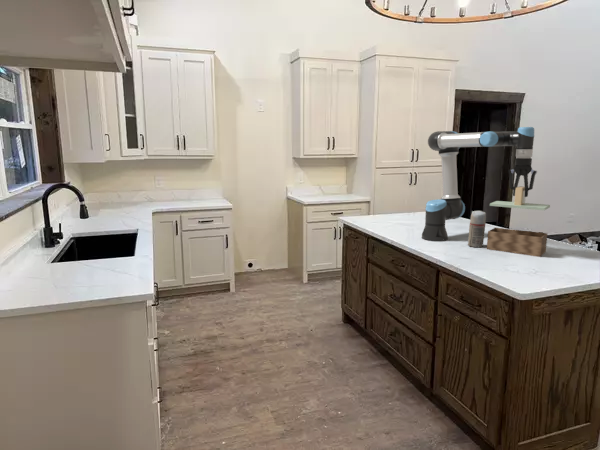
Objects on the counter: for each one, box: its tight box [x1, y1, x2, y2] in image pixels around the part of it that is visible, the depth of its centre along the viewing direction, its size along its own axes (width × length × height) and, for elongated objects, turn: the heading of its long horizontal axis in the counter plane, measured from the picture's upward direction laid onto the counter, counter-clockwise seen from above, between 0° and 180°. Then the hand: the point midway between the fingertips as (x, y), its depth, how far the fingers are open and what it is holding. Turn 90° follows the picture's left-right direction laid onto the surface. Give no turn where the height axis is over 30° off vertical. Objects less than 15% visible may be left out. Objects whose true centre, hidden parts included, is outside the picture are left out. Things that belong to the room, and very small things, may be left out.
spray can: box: [467, 210, 487, 248], centre depth 231 cm, size 8×8×20 cm
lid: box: [489, 186, 551, 211], centre depth 216 cm, size 26×12×10 cm, turn 49°
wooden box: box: [486, 227, 548, 258], centre depth 221 cm, size 26×12×10 cm, turn 49°
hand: (519, 202), depth 217 cm, fingers closed on lid, 3 cm apart
